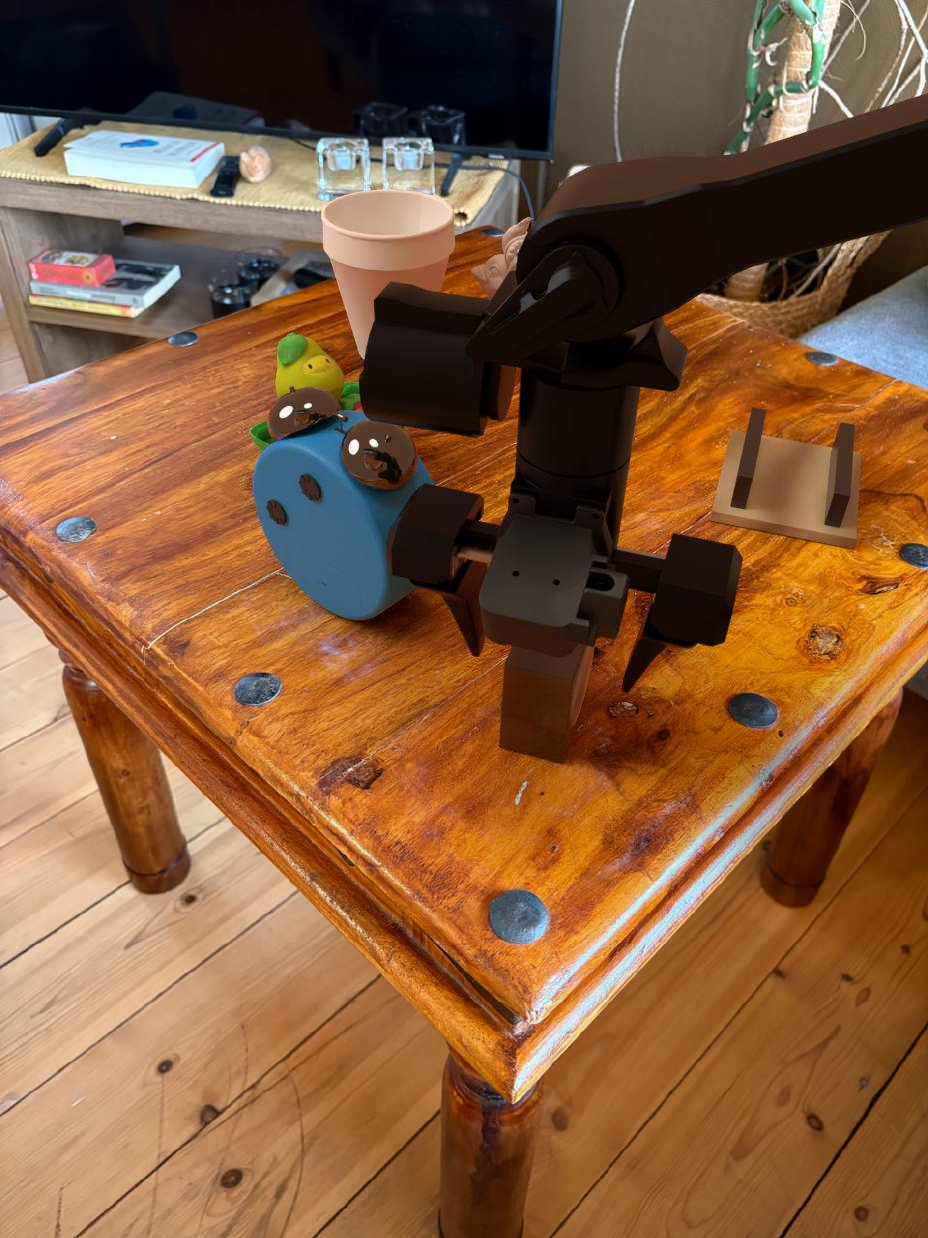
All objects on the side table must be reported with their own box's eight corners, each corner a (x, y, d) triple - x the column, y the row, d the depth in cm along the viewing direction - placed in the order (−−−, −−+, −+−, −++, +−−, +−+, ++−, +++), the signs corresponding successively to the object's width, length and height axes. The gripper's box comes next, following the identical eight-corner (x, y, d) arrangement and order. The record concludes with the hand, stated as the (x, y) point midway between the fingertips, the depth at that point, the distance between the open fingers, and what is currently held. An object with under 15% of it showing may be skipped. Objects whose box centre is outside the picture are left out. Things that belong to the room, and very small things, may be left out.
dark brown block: (590, 686, 64) (602, 604, 60) (564, 765, 59) (575, 683, 55) (528, 671, 65) (535, 590, 61) (498, 747, 60) (503, 665, 56)
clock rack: (858, 462, 85) (871, 421, 82) (853, 549, 76) (868, 506, 73) (729, 439, 88) (738, 398, 85) (709, 520, 78) (718, 478, 76)
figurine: (463, 333, 102) (466, 207, 94) (604, 324, 104) (618, 201, 96) (477, 370, 96) (481, 240, 88) (626, 360, 98) (644, 232, 90)
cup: (306, 360, 97) (292, 218, 88) (375, 313, 105) (369, 179, 96) (412, 392, 93) (409, 246, 84) (476, 341, 101) (479, 203, 92)
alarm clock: (450, 612, 70) (452, 424, 60) (389, 657, 66) (380, 466, 56) (322, 537, 76) (304, 356, 66) (260, 575, 72) (231, 390, 62)
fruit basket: (313, 521, 77) (299, 391, 70) (242, 477, 82) (222, 350, 74) (416, 464, 84) (414, 339, 76) (345, 426, 88) (337, 304, 81)
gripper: (335, 497, 46) (355, 726, 56) (745, 583, 41) (684, 813, 52) (419, 386, 54) (422, 604, 64) (770, 448, 49) (713, 671, 60)
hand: (550, 669), depth 60 cm, fingers open, 9 cm apart
